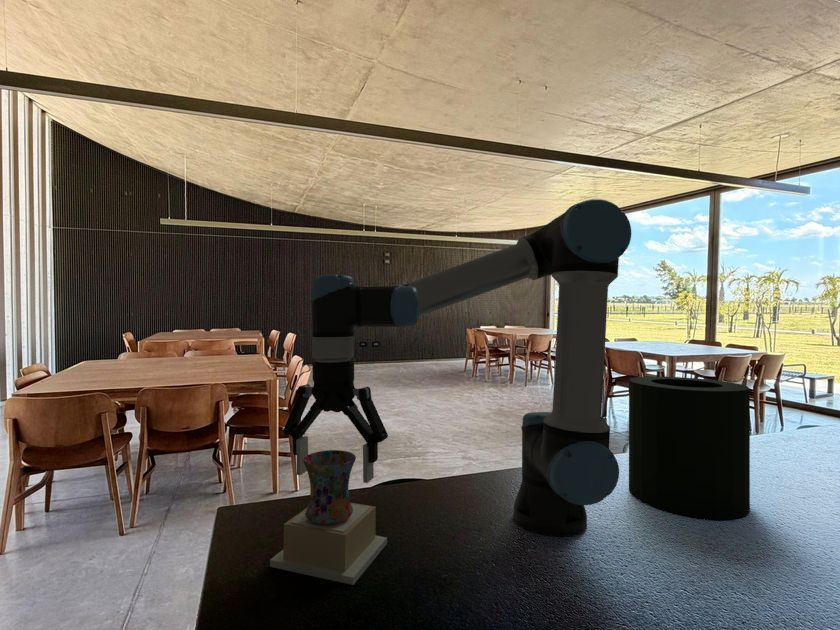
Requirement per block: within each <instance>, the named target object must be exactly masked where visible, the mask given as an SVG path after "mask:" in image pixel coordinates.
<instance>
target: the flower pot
mask: <svg viewBox="0 0 840 630" xmlns="http://www.w3.org/2000/svg"><path fill="white" fill-rule="evenodd" d="M750 389H751V388H750V387H749V386H748V385H745V384H740V383H737V382H731V381H724V380H717V379H716V380H715V379H709V378H707V379H706V378H696V377H684V376H683V377H681V376H678V377H677V376H637V377H631V378H629V380H628V491H629V493H630V494H631V496H632V497H633V498H635V499H636V500H638V501H639V502H640V503H642V504H644V505H647V506H649V507H650V508H654V509H655V510H657V511H658V510H659V511H662V512H665V513H668V514H670V515H671V514H672V515H674V516H678V517H683V518H687V519H693V520H701V521H713V522H730V521H731V522H732V521H737V520H740V519H745V518H747V516H748V515H749V514H750V513H751V512H750V511H751V504H750V503H751V491H750V490H751V481H750V480H751V479H750V478H751V475H750V474H751V473H750V471H751V470H750V469H751V467H750V466H751V461H750V460H751V458H750V457H751V453H750V452H751V450H750V449H751V447H750V446H751V443H750V441H751V437H750V436H751V434H750V431H751V429H750V428H751V427H750V426H751V425H750V424H751V422H750V418H751V417H750V416H751V413H750V411H751V409H750V408H751V406H750V403H751V398H750V397H751V396H750V394H751V393H750V391H751V390H750Z"/></svg>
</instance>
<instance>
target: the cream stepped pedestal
mask: <svg viewBox="0 0 840 630" xmlns="http://www.w3.org/2000/svg"><path fill="white" fill-rule="evenodd" d="M350 503H351V505H352V507H353V513H352V514H351V516H350V517H348V518H347V519H345V520H343V521H340V522H336V523H331V524H320V523H315V522H312V521H310V520H308V519H307V518H306V516H305V511H306V509H307V507H306V508H304V509H303V510H302V511H300V512H299V513H298V514H296V515H295V516H292V518H290V519H289V520H288V521H286V522H284V523H283V549H281V551H279V552H278V553H277V554H275V555H274V556H273V557H272V558H270V559H269V567H270V568H274V569H279V570H284V571H288V572H291V573H292V572H293V573H298V574H301V575H306V576H310V577H316V578H320V579H323V580H329V581H332V582H337V583H342V584H347V585H352V586H354V585H355V583H357V582H358V580H359V578H361V576H362V575H363V574H364V573H365V571H366V570H367V568H369V567H370V565H371V564H372V563H373V561H375V559H376V558H377V557H378V555H379V554H380V553H381V552H382V551H383V549H384V548H385V547H386V546H387V545H388V537H386V536H381V535H376V518H377V517H376V515H377V514H376V511H377V509H376V507H377V506H373V505H366V504H362V503H361V504H360V503H355V502H350Z"/></svg>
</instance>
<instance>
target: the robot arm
mask: <svg viewBox="0 0 840 630" xmlns="http://www.w3.org/2000/svg"><path fill="white" fill-rule="evenodd" d="M631 238H632V225H631V222H630V220H629V218H628V216H627V214H626V213H625V212H624V211H622V209H621V208H620V207H619V205H616V204H615V203H614V202H612V201H609V200H607V199H604V198H590V199H585V200H583V201H580V202H576V203H574V204H573V205H571V206H569V208H568V209H566V211H565V212H563V213H562V214H560V215H559V216H557V217H555V218H554V219H552V220H551V221H550V222H548V223H547V224H545V225H544V226H542V227H541V228H539V229H537V230H536V231H534V232H531V233H530V234H527V235H525V236H521V237H519V238H518V239H517V242H516V244H514V245H510V246H508V247H506V248H503V249H500V250H497V251H494V252H491V253H488V254H486V255H484V256H480V257H478V258H475V259H473V260H469V261H466V262H464V263H459V264H458V265H455V266H452V267H450V268H446V269H444V270H442V271H438V272H436V273H433V274H430V275H427V276H424V277H421V278H419V279H416V280H414V281H411V282H408V283H406V284H402V285H399V284H398V285H385V286H384V285H383V286H379V285H378V286H358V285H355V282H354V278H353V277H352V276H350V275H345V274H322V275H318V276H316V277H314V279H313V280H312V288H311V290H312V292H311V293H312V294H311V299H310V303H311V325H312V326H311V327H312V330H311V331H312V335H311V336H312V338H311V339H312V340H311V346H312V347H311V350H312V351H311V353H312V355H311V357H312V359H314V360H315V361H313V363H312V364H311V365H312V366H311V367H312V381H313V386H311V385H310V384H309V383H307V384H303V385H300V386H298V387H297V393H296V394H297V395H296V398H295V399H296V400H295V401H294V404H293V406H292V409H291V411H290V413H289V416H288V418H287V420H286V422H285V424H284V428H283V431H282V432H283V434H284V435H285V436H286V435H288V436H290V437H291V438H292V454H293V456H295V457H296V459H295V460H296V465H295V466H296V468H295V469H296V476H301V475H303V474H305V473H308V472H307V469H306V467H305V464H304V462H303V459H304V458H305V457H306V456H307V455H309V435H306V432H307V431H308V430H309V428H310V427H312V425H313V423H314V422H315V420H316V419H317V417H318V416H319V415H320V414H321V413H322V411H323V412H327V413H328V412H331V411H332V412H334V413H340V412H342V413H343V415H345V416H347V418H348V419H349V421H350V422H351V423H352V424H353V426H354V427H355V430H356V431H358V433H359V434H360V435H361V437H362V438H363V440H364V441H365V443H364V444H363V445H362V473H363V474H362V482H363V484H368V483H369V482H371V481H372V480H373V479H374V477H375V475H374V470H375V469H374V464H375V462H377V461H378V458H379V457H378V454H379V448H378V445H379V443H382V442H383V441H384V440H387V438H388V436H389V434H388V432H387V430H386V427H385V425H384V423H383V421H382V419H381V416H380V415H379V412H378V410H377V407H376V405H375V403H374V401H373V398H372V392H371V388H370V386H365V387H362V388H355V385H354V384H355V383H354V382H355V362H354V361H353V360H352V358H354V357H355V343H354V342H355V338H354V337H355V334H354V333H355V332H354V330H355V328H370V327H371V328H405V327H414V326H416V325H417V324H418V321H419V317H421V316H424V315H427V314H430V313H433V312H435V311H438V310H441V309H443V308H447V307H449V306H452V305H455V304H458V303H461V302H464V301H466V300H468V299H469V300H470V299H471V298H474V297H477V296H481V295H483V294H486V293H488V292H492V291H493V290H497V289H499V288H503V287H505V286H508V285H511V284H514V283H516V282H519V281H522V280H525V279H530V280H532V281H535V280H539V279H542V278H545V277H548V276H551V277H552V278H553V279H554V280H555V281H556V283H557V284H558V297H557V298H558V302H557V318H556V319H557V322H556V340H555V355H554V356H555V357H554V359H555V360H554V375H553V376H554V378H553V396H552V410H551V411H549V412H548V411H539V412H538V411H537V412H535V411H534V412H533V411H532V412H527V413H525V414H524V415H523V417H522V425H521V426H520V428H521V429H520V430H521V467H522V468H521V483H520V487H519V489H518V491H517V495H516V497H515V501H514V504H513V519H514V520H515V522H516V523H517V524H518V525H519V526H521V527H522V528H524V529H525V530H528V531H530V532H533V533H536V534H540V535H544V536H549V537H550V536H551V537H571V536H576V535H579V534H581V533H583V532H584V531H585V530H586V529H587V527H588V516H587V515H588V514H587V511H586V507H585V506H591V505H595V504H598V503H600V502H602V501H604V499H606V498H607V497H608V496H610V495H611V494H612V492H614V491H615V488H616V487H617V484H618V482H619V478H620V467H619V463H618V460H617V458H616V456H615V454H614V453H613V452H612V450H611V449H610V435H611V426H610V425H609V424H608V423H607V422H606V421H605V420H604V418H603V416H602V411H603V394H604V374H605V373H604V372H605V371H604V370H605V358H606V357H605V355H606V354H605V352H606V333H607V315H608V314H607V313H608V300H609V299H608V296H609V286H610V284H612V283H613V282H614V281H615V280H617V279H618V277H619V266H620V265H619V261H620V257H621V256H622V255H623V254H625V252H626V251H627V249H628V248H629V246H630V244H631V240H632V239H631ZM310 397H313V399H314V400H315V401H314V402H313V403H312V405H311V406H310V408H309V410H308V411H307V413H306V414H305V415H304V417H303V418H302V416H303V414H304V413H305V409H306V407H307V405H308V403H309V400H310ZM355 397H356V399H357V400H358V401H359V404H360V406H361V408H362V410H363V413H364V415H363V414H362V413H361V411H360V410H359V407H358V405H357V404H356V403H355V401H354V400H353V399H354V398H355ZM364 416H365V417H364Z"/></svg>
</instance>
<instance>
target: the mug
mask: <svg viewBox="0 0 840 630" xmlns="http://www.w3.org/2000/svg"><path fill="white" fill-rule="evenodd" d="M356 458H357V456H356V454H355V453H353V452H351V451H346V450H339V449H332V450H331V449H329V450H327V449H326V450H320V451H315V452H311V453H310V454H309V453H308V455H307V456H306V457H305V458H304V459H303V462H304V464H305V467H306V469H307V472H306V473H307V475H308V479H309V485H310V486H309V488H310V489H309V491H310V492H309V494H310V495H309V501H308V505H307V507H306V508H307V509H306V508H305V509H306V511H305V516H306V518H307V519H308V520H310V521H312V522H315V523H320V524H331V523H336V522H340V521H343V520H345V519H347V518H348V517H350V516H351V514H352V513H353V507H352V505H351V503H352V502H351V501H350V496H349V493H350V492H349V486H350V485H349V482H350V476H351V473H352V470H353V468H354V464H355V462H356Z"/></svg>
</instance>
